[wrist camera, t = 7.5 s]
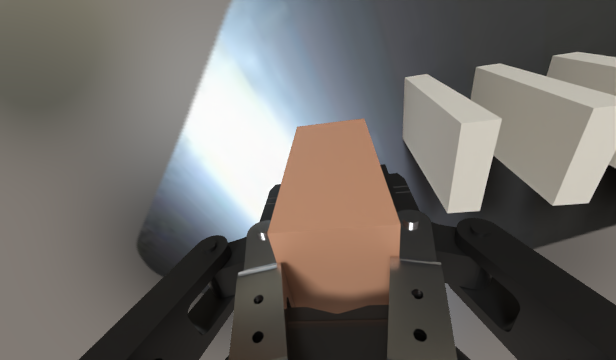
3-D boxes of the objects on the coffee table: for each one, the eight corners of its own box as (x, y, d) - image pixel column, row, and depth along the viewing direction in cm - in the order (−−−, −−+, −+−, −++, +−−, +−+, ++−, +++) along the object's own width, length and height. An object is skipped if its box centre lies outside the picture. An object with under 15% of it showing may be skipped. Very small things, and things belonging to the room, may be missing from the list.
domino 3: (500, 63, 19) (640, 102, 10) (485, 128, 21) (588, 202, 13) (476, 66, 19) (593, 108, 10) (465, 131, 21) (552, 205, 13)
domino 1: (363, 118, 13) (400, 224, 7) (367, 196, 16) (395, 330, 9) (297, 126, 14) (267, 233, 7) (311, 201, 16) (298, 331, 10)
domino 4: (578, 51, 18) (799, 83, 10) (554, 121, 21) (710, 194, 12) (552, 55, 18) (745, 90, 10) (531, 123, 21) (670, 197, 12)
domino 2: (427, 74, 19) (502, 118, 11) (422, 136, 22) (479, 210, 14) (404, 77, 20) (461, 123, 11) (402, 138, 22) (447, 213, 14)
